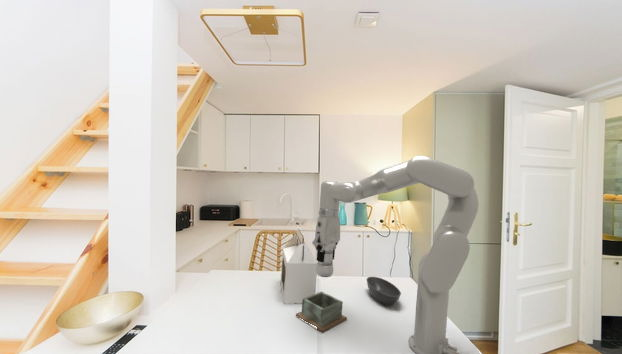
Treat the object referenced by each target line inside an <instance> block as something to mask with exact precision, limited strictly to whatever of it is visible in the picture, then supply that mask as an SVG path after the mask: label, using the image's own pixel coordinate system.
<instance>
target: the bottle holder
mask: <svg viewBox="0 0 622 354" xmlns="http://www.w3.org/2000/svg"><path fill="white" fill-rule="evenodd" d="M343 303H344V302H343V301H342V300H340V299H338V298H335V297H334V296H332V295H330V294H328V293H326V292H324V291H319V292H317V293H315V294H314V295H311V296H309V297H306V298H303V300H302V304H301V311H299V312H298V313H295V317H296V316H298V317H299V318H301V319H303V320H304V321H306V322H308V323H310V324H312V325H314V326H316V327H317V330H316V331H318V332H320V334H324V333H326V332H327V331H328V332H329V330H331V329H333V328H335V327H337V326H339V325H341V324H342V323H344V322H346V321H347V320H348V317H347V316H345V315H344V314H343ZM298 317H297V318H298ZM299 318H298V319H299ZM301 319H300V320H301ZM304 321H303V322H304Z"/></svg>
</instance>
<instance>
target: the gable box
mask: <svg viewBox="0 0 622 354" xmlns="http://www.w3.org/2000/svg"><path fill="white" fill-rule="evenodd" d="M304 239H305V237H304V235H303V233H302V232H301V231H300V229H297V232H296V231H294V235H293V236H292V237H291V238H290V239H289V241H288V242H287V243H286V245H285V246H284V247H283V248H282V255H281V257H282V258H281V268H280V269H281V273H280V287H281V288H280V289H281V293H282V300H283V304H284V305H288V303H302V300H303V298H306V297H309V296H311V295H314V294H316V289H317V275H318V274H317V272H316V267H317V263H318V261H317V259H316V258H315V256H314V255H313V253H312V251H311V249H310V248H309V245H307V244H306V242H305V240H304Z"/></svg>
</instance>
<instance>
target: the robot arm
mask: <svg viewBox="0 0 622 354" xmlns="http://www.w3.org/2000/svg"><path fill="white" fill-rule="evenodd" d="M417 184H422V185H424V186H427V187H428V188H431V189H433V190H436V191H438V192H441V193H442V194H445V195H446V196H447V199H448V203H447V207H446V208H445V212H444V214H443V216H442V218H441V220H440V222H439V224H438V226H437V228H436V230H435V231H434V233H433V237H432V245H431V247H430V249H429V251H428V253H425V254H424V255H423V256H422V257H421V258H420V260H419V263H418V267H417V268H418V270H417V273H418V274H417V289H416V290H417V291H416V302H415V303H416V305H415V318H414V329H413V334H412V335H409V338H408V345H409V347H410V349H411V350H412V351H413V352H414V353H415V354H460V352H458V348H457V347H455V346H453V345H450V343H449V338H448V337H446V336H447V335H446V333H447V322H448V321H447V320H448V308H449V297H450V296H449V295H450V290H451V289H452V288H453V286H454V284H455V282H456V281H457V279H458V277H459V276H460V273H461V271H462V269H463V267H464V265H465V264H466V261H467V260H468V257H469V254H470V245H471V244H470V241H469V239H468V235H469V233H470V231H471V229H472V227H473V224H474V222H475V219H476V218H477V217H476V216H477V214H478V211H479V198H478V194H477V192H476V189H475V180H474V178H473V176H472V175H471V173H469V172H468V171H466V170H464V169H462V168H459V167H456V166H453V165H452V164H447V163H445V162H443V161H440V160H438V159H434V158H432V157H429V156H427V155H422V154H420V155H416V156H413V157H411V159H409V160H406V161H402V162H401V163H398V164H394V165H392V166H389V167H385V168H382V169H380V170H378V171H377V172H375V173H374V174H373V175H370V176H367V177H365V178H362V179H359V180H356V181H350V182H338V181H327V180H324V181H322V182H321V184H320V196H319V209H318V217H317V220H316V226H315V233H314V238H313V240H312V242H311V244H312V245H313V246H314V248H315V251H316V262H318V261H319V262H324V252H323V251H324V247H325V245H328V244H330V240H331V239H332V238H333V237H334V239H335V242H334V248H333V260H335V253H336V249H337V245H338V244H339V242H340V240H341V219H340V217H339V214H340V213H339V212H340V211H339V210H340V202H342V203H346V204H347V203H348V204H351V203H354V202H357V201H361V200H363V199H367V198H370V197H373V196H376V195H380V194H388V193H390V192H395V191H398V190H401V189H404V188H407V187H411V186H414V185H417ZM320 241H321V242H320ZM320 244H321V245H322V246H321V247H320Z"/></svg>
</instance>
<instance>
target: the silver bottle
mask: <svg viewBox="0 0 622 354" xmlns="http://www.w3.org/2000/svg"><path fill="white" fill-rule="evenodd" d="M320 242H321V241H320ZM334 242H335V239H334V237H333V238H332V239H331V240H330V244H328V245H325V247H324V251H323V252H324V262H319V261H317V267H316V272H317V275H318V277H321V278H330V277H332V276H333V273H334V265H333V264H334V263H333V248H334ZM321 246H322V245H321V244H320V247H321Z"/></svg>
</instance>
